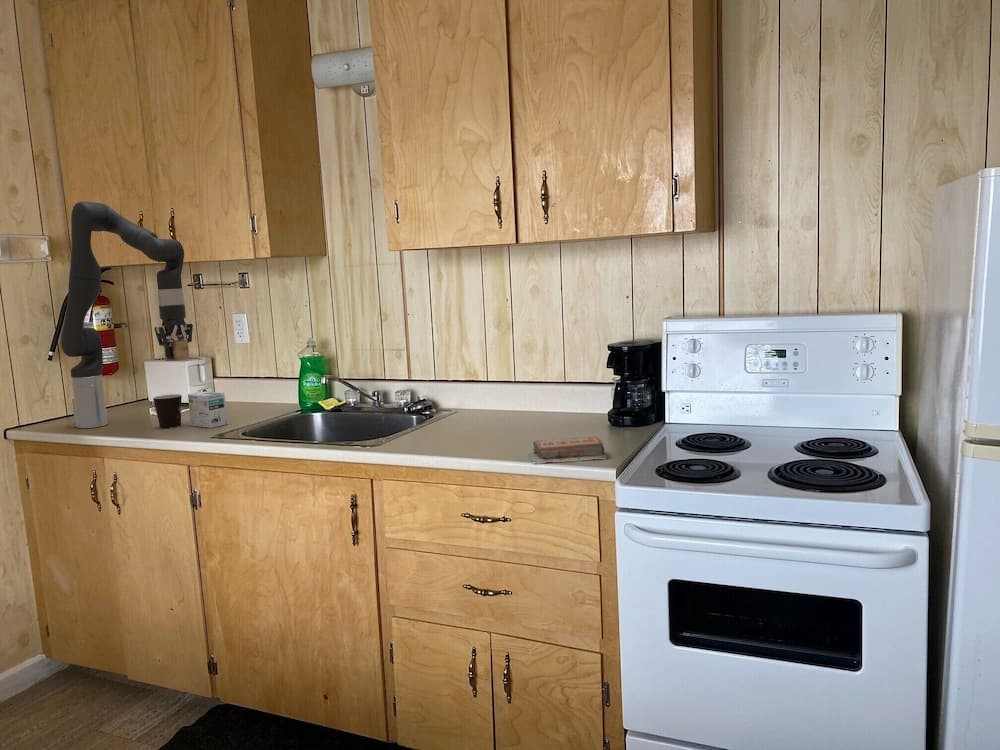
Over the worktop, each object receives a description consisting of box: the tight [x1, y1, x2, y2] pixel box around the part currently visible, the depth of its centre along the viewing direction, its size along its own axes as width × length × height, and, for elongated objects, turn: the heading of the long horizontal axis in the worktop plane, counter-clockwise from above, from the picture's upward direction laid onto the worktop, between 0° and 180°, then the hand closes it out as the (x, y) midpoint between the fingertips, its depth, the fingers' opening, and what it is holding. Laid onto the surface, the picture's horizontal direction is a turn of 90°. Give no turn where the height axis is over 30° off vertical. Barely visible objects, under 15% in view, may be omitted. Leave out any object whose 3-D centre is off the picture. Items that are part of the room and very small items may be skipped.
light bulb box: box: [187, 391, 228, 429], centre depth 251 cm, size 11×7×11 cm, turn 58°
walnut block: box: [163, 339, 191, 362], centre depth 241 cm, size 5×5×6 cm
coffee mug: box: [152, 393, 183, 429], centre depth 253 cm, size 12×9×10 cm
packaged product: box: [527, 436, 607, 462], centre depth 187 cm, size 18×5×10 cm
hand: (177, 357), depth 241 cm, fingers closed on walnut block, 5 cm apart
